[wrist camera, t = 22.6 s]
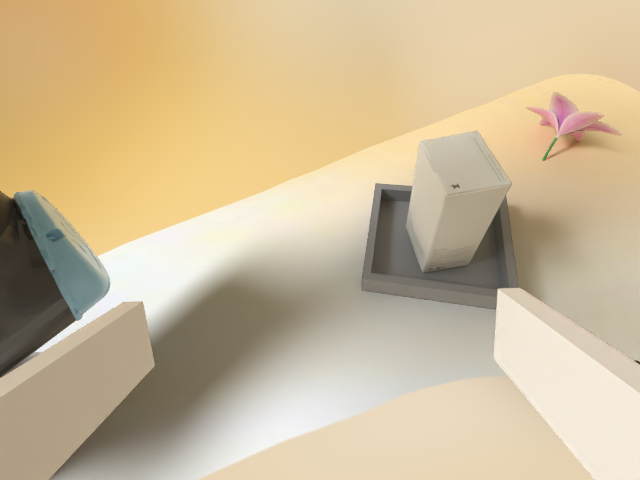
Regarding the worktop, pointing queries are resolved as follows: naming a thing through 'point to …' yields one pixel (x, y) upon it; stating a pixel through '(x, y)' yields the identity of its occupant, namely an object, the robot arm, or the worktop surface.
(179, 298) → the worktop surface
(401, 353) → the worktop surface
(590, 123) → the lily
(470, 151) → the skincare box
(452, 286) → the tray
